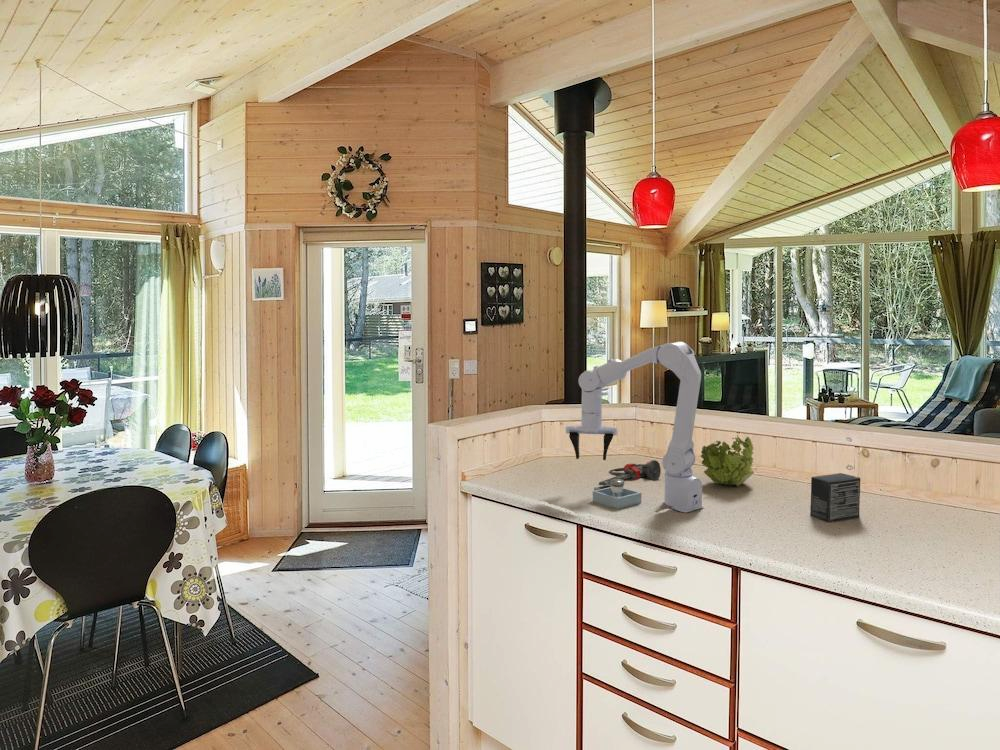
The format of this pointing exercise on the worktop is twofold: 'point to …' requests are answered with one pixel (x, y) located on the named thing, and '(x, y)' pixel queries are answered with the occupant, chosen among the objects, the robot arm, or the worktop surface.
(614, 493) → the metal capped cylinder
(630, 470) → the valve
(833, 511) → the small box
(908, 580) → the worktop surface
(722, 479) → the lettuce head
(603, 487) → the plate
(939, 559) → the worktop surface
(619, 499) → the bin
